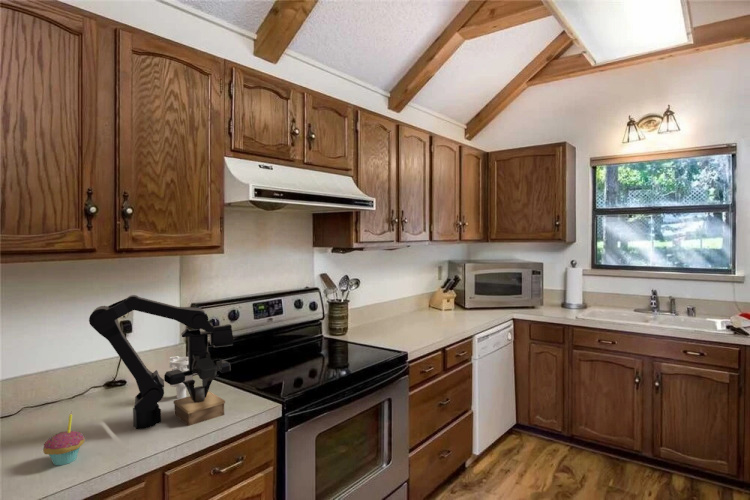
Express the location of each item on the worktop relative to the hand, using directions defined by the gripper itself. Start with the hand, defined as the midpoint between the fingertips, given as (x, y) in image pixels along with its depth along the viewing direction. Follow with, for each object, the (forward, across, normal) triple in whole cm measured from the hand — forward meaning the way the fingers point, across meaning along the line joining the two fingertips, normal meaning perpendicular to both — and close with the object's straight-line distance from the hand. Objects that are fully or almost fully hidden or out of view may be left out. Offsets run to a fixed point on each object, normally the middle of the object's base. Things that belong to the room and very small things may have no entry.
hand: (199, 398), depth 136 cm
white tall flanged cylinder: (+6, +2, +20) cm, 21 cm away
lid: (+1, 0, 0) cm, 1 cm away
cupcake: (+6, -35, -2) cm, 36 cm away
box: (+6, 0, 0) cm, 6 cm away
